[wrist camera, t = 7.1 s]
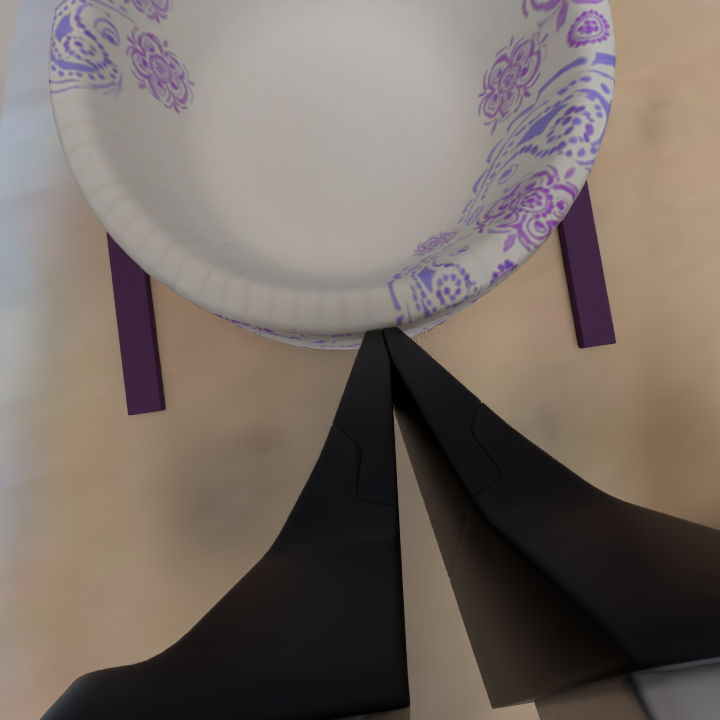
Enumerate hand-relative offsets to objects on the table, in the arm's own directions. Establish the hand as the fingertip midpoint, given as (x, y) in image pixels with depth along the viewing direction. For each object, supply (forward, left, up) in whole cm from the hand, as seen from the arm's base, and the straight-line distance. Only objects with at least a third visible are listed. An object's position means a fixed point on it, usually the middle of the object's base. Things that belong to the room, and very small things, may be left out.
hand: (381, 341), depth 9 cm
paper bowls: (+7, +4, -7) cm, 11 cm away
